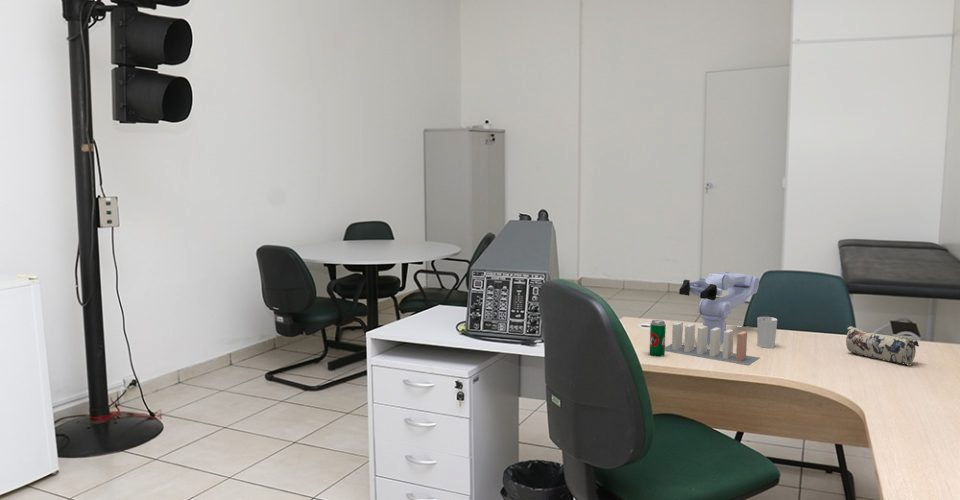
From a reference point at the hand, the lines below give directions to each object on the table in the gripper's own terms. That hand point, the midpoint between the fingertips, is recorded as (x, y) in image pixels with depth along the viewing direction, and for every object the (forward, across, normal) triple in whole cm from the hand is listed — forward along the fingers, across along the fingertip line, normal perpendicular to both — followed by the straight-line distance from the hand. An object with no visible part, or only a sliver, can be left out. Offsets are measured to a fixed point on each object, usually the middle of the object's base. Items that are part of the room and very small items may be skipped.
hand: (690, 293), depth 250 cm
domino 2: (-1, +1, +21) cm, 21 cm away
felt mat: (-1, +8, +21) cm, 22 cm away
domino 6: (-2, +19, +20) cm, 27 cm away
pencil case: (-35, +52, +20) cm, 66 cm away
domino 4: (-1, +10, +20) cm, 22 cm away
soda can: (+12, -5, +21) cm, 24 cm away
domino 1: (0, -4, +21) cm, 21 cm away
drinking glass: (-26, +18, +22) cm, 39 cm away
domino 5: (-1, +14, +20) cm, 24 cm away
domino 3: (-1, +5, +20) cm, 21 cm away
